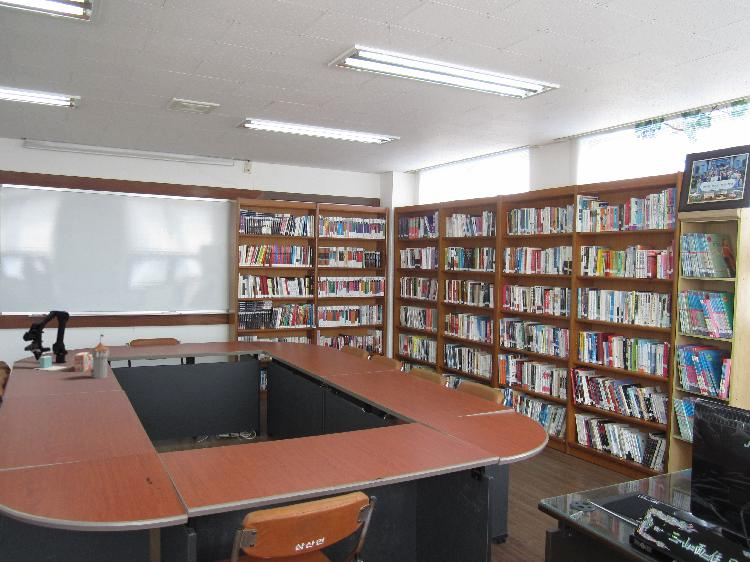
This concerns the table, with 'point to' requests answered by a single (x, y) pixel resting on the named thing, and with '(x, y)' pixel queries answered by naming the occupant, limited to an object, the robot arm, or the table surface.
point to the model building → (100, 360)
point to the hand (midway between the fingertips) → (37, 360)
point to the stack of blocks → (83, 361)
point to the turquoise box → (46, 362)
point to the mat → (51, 368)
